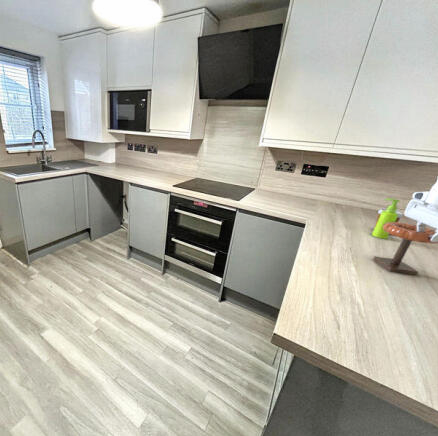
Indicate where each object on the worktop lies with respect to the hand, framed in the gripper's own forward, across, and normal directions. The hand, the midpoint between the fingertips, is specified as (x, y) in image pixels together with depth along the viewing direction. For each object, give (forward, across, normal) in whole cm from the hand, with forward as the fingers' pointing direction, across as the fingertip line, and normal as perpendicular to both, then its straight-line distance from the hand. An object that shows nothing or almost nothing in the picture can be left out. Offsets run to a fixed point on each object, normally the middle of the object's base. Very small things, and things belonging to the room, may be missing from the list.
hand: (425, 237), depth 82 cm
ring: (0, +6, 0) cm, 6 cm away
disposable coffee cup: (+16, +49, -24) cm, 57 cm away
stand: (+15, +6, 0) cm, 17 cm away
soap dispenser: (+16, +41, -17) cm, 47 cm away
